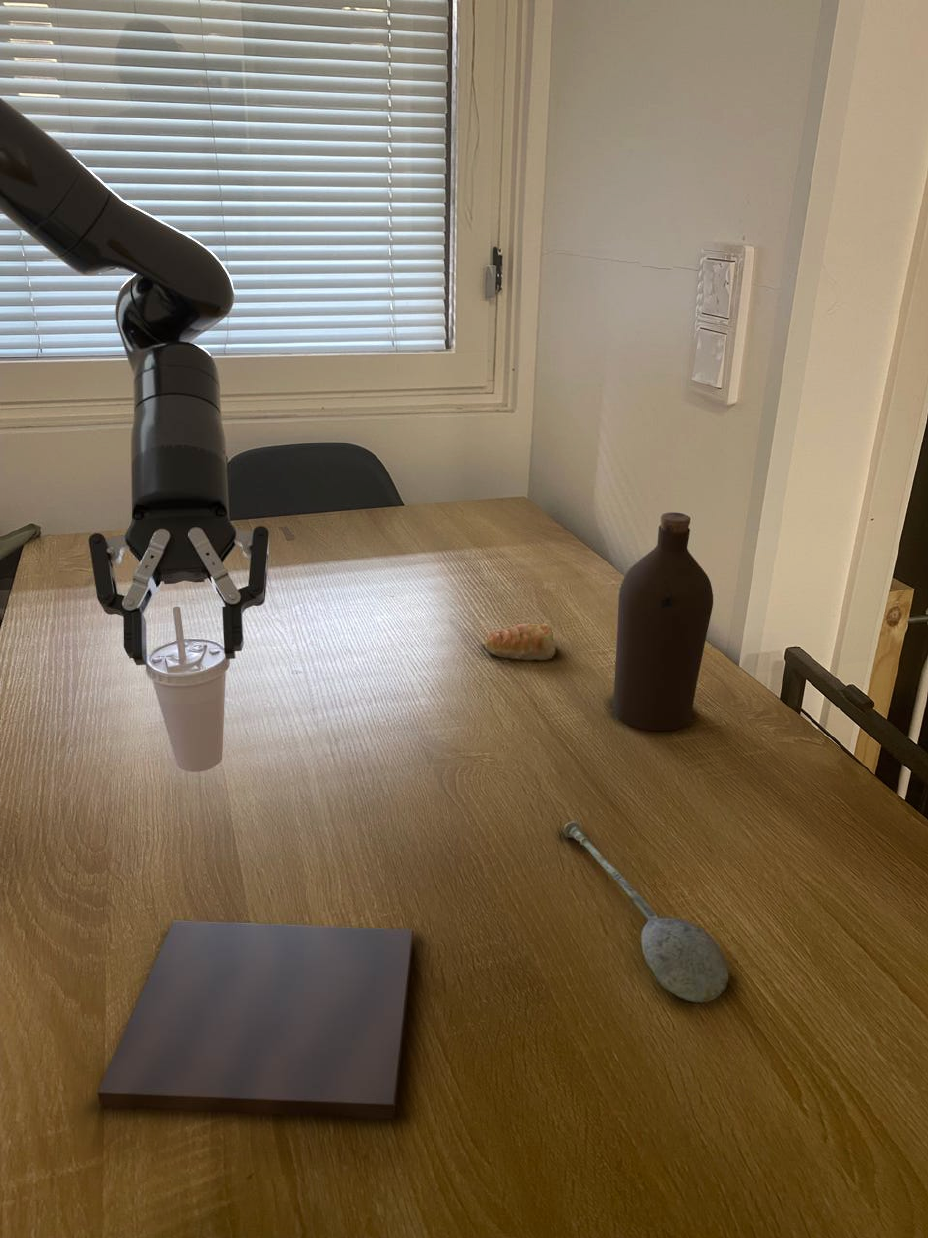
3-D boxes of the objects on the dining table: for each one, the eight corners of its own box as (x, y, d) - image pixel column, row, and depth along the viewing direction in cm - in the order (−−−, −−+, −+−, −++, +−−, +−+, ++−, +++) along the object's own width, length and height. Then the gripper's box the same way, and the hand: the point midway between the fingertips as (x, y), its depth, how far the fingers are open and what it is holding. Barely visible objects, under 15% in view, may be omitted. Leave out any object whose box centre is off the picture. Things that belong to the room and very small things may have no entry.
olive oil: (713, 727, 108) (745, 527, 97) (633, 742, 104) (657, 536, 94) (667, 685, 117) (691, 498, 106) (592, 697, 114) (610, 505, 103)
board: (100, 1108, 62) (97, 1093, 61) (174, 934, 76) (172, 920, 76) (394, 1120, 61) (393, 1105, 61) (413, 943, 76) (413, 929, 75)
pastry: (489, 664, 121) (490, 638, 119) (481, 641, 127) (482, 617, 125) (557, 660, 122) (559, 635, 121) (547, 639, 128) (548, 614, 127)
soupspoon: (672, 1021, 70) (740, 998, 73) (680, 989, 69) (749, 967, 71) (540, 841, 88) (599, 827, 90) (545, 813, 86) (604, 800, 89)
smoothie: (142, 770, 74) (118, 614, 68) (191, 731, 79) (172, 583, 73) (209, 789, 72) (190, 629, 66) (254, 747, 77) (240, 596, 71)
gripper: (76, 443, 70) (74, 651, 65) (267, 438, 73) (280, 637, 67) (96, 489, 77) (96, 680, 71) (270, 483, 80) (282, 666, 74)
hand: (185, 658), depth 69 cm, fingers closed on smoothie, 6 cm apart
